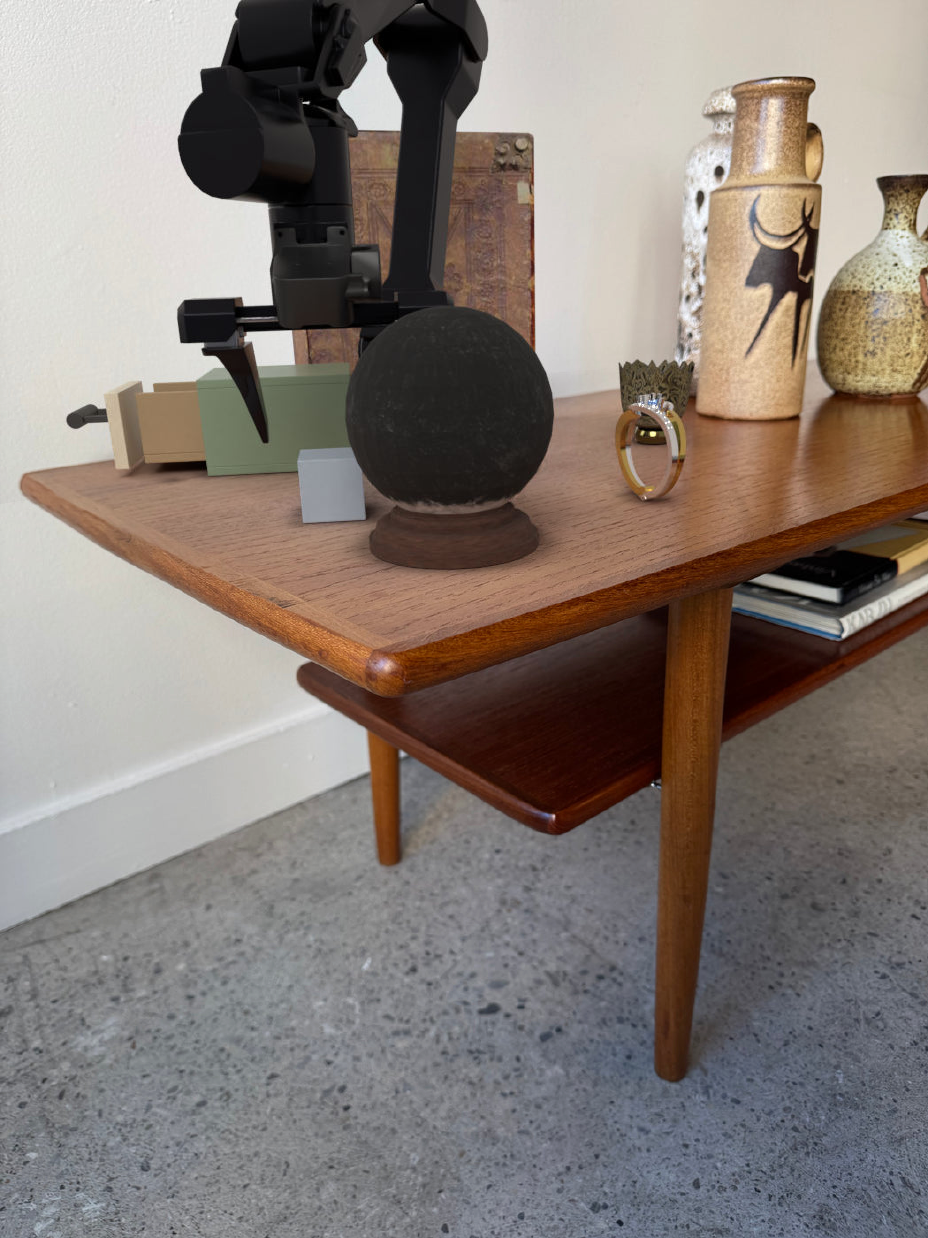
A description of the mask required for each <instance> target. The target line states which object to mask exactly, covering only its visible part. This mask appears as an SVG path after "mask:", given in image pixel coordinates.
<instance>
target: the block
mask: <svg viewBox="0 0 928 1238" xmlns="http://www.w3.org/2000/svg"><path fill="white" fill-rule="evenodd" d="M297 464H298V472H297V475H298V485H299V495H300V505H301V517H302V523H303V524H315V523H334V522H351V521H366V519H367V515H366V502H365V499H366V497H365V485H364V473H363V471H362V470H361V468H360V466H359V465H358V463H357V461H356V458H355V456H354V453H353V450H352V448H351V447H347V448H327V449H307V450H300V453H299V457H298V461H297Z"/></svg>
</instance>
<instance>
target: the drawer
mask: <svg viewBox="0 0 928 1238" xmlns="http://www.w3.org/2000/svg"><path fill="white" fill-rule="evenodd" d="M143 387H144V386H143V381H142V380H130V381H127V382H125V383H123V384H121V385H119V386H117V387H115V388H113V389H111V390H109V391H107V392H104V394H103V398H104V404H105V408H98V406H96V405H95V404H92V403H89V404H85V405H84V406H82V407H79V408H78V409H75V410H74V411H72V412H70V413H68V414H67V415H66V419H65V421H66V424H67V426H68V427H70V428H71V429H73V430H79V429H81V428H83V427H84V426H86V425H87V424H101V423H102V424H103V423H108V429H109V434H110V441H111V447H112V453H113V461H114V467H115V470H117V471H119V470H130V469H131V468H132V467H133V466H134V465H136V464H137V463H138V462H139V461H140V460H141V459H142V458H144V463H145V464H163V463H183V462H185V463H187V462H204V461H205V462H206V456H205V448H204V440H203V433H202V425H201V417H200V409H199V401H198V394H197V385H196V380H195V381H193V380H191V381H170V382H169V381H167V382H153V384H152V389H153V391H150V392H144V389H143Z"/></svg>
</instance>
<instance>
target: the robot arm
mask: <svg viewBox="0 0 928 1238" xmlns="http://www.w3.org/2000/svg"><path fill="white" fill-rule="evenodd" d="M234 17H235V18H236V20H235V21H234V22H233V25H232V27H231V30H230V33H229V37H228V40H227V43H226V47H225V50H224V53H223V57H222V60H221V64H220V66H214V67H207V68H206V67H205V68H201V70H200V71H199V76H200V86H201V92H200V93H199V94H198V95H197V96H196V97H194V99H193V100H192V101H191V102H190V104H189V105H188V107H187V108H186V110H185V112H184V115H183V118H182V120H181V123H180V129H179V134H178V136H177V152H178V154H179V158H180V162H181V165H182V167H183V170H184V171H185V174H186V176H187V177H188V179H189V180H190V181H191V183H192V184H193V185H194V186H195V187H196V188H197V189H198V190H199V191H200V192H202V193H204V194H206V195H207V196H209V197H211V198H215V199H220V200H226V201H236V202H238V201H239V202H247V203H256V204H266V205H267V208H268V209H267V212H268V222H269V223H268V224H269V233H270V234H269V235H270V243H271V244H270V245H271V255H272V257H271V261H270V267H269V276H270V277H269V278H270V287H271V288H270V289H271V299H272V304H262V305H261V304H260V305H259V304H258V305H245V304H244V301H243V297H242V296H222V297H221V296H220V297H199V298H198V297H193V298H188V299H183V301H182V302H181V304H179V306H178V307H177V309H176V320H177V328H178V335H179V341H180V342H179V343H180V344H203V347H201V348H200V350H201V353H202V356H203V357H215V358H217V359H218V360H219V361H220V363H221V365H223V368H226V369H227V371H228V372H229V374H230V376H231V377H232V379H233V381H234V382H235V384H236V386H237V387H238V389H239V391H240V393H241V395H242V397H243V400H244V402H245V404H246V406H247V409H248V411H249V413H250V415H251V418H252V420H253V422H254V424H255V427H256V429H257V431H258V433H259V436H260V438H261V440H262V442H263V444H268V443H269V429H268V418H267V413H266V408H265V403H264V398H263V393H262V388H261V384H260V379H259V374H258V369H257V366H258V364H257V359H256V355H255V354H256V353H255V350H254V344H253V340H252V341H245V337H247V336H248V333H257V332H258V333H259V332H262V333H263V332H282V331H283V332H287V331H292V330H317V329H344V328H361V331H360V334H359V337H360V339H359V343H358V357H359V358H360V356H361V355H362V354H363V352H364V351H365V349H366V348H367V346H368V345H369V344H370V342H371V341H372V340H373V339H374V338H375V337H376V336H377V335H378V334H379V333H381V332H382V331H383V330H384V329H385V328H386V327H387V326H389V325H390V324H392V323H394V322H395V321H397V320H398V319H400V318H402V317H403V316H405V315H408V314H410V313H413V312H416V311H419V310H422V309H425V308H431V307H439V306H455V305H454V299H453V298H452V297H451V296H450V295H449V294H448V293H447V292H446V291H444V290H443V280H444V268H445V257H446V245H447V234H448V222H449V211H450V199H451V188H452V176H453V165H454V153H455V142H456V132H457V129H458V128H457V127H458V122H459V119H460V118H461V117H462V115H463V114H464V113H465V112H466V110H467V108H468V107H469V105H470V104H471V103H472V101H473V100H474V98H475V97H476V96H477V95H478V93H479V89H480V84H481V77H482V71H483V65H484V62H485V61H486V60H487V57H488V53H489V30H488V26H487V22H486V19H485V16H484V13H483V12H482V9H481V7H480V6H479V3H478V2H477V0H239V1H238V3H237V5H236V8H235V11H234ZM371 40H372V44H373V45H374V46H375V48H376V49H377V51H378V53H380V55H381V57H382V58H383V59H384V61H385V62H386V74H387V76H388V78H389V80H390V82H391V84H392V86H393V88H394V90H395V93H396V95H397V97H398V99H399V101H400V103H401V120H400V130H399V131H400V143H399V154H398V166H397V178H396V190H395V202H394V213H393V225H392V237H391V249H390V261H389V271H388V277H387V278H386V280H385V281H384V283H383V284H382V278H381V261H380V248H379V244H356V243H355V228H354V213H353V207H352V206H353V199H352V183H351V168H350V153H349V138H356V137H357V136H358V130H359V127H358V126H357V125H356V123H355V121H354V118H353V117H351V116H350V115H349V114H348V113H347V112H346V111H345V110H344V108H343V107H342V105H341V103H340V100H339V97H340V96H341V94H342V92H343V91H345V90H349V89H350V88H351V87H352V85H353V84H354V83H355V81H356V79H357V78H358V77H359V75H360V74H361V72H362V71H363V69H364V68H365V66H366V64H367V62H368V57H367V52H366V47H365V45H366V44H367V43H368V42H369V41H371Z"/></svg>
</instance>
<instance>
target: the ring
mask: <svg viewBox="0 0 928 1238" xmlns="http://www.w3.org/2000/svg"><path fill="white" fill-rule="evenodd" d="M649 398H650V400H649ZM664 400H665V398H662V394H660V393H657V395H656V400H655V393H651V394H649V396H648V394H645V395H643V402H642V395H637V396H636V397H635V403H634V404H632V405H630V406H628V408H629V410H628V411H626V412H623V413H621V415H620V416H619V418H618V419H617V422H616V425H615V434H614V442H615V451H616V456H617V461H618V464H619V465H618V466H619V468H620V470H621V473H622V476H623V478H624V480H625V482H626V484H627V485H628V487H629V488H630V489H631V490H632V492H634V493H635V494H636V495H638V497H639V499H640V500H641V501H650V500H651V501H652V500H655V498H661V497H664V496H666V495H667V494H669V493H670V492H671V491H672V490H673V489H674V487H675V485H676V484H677V482H678V480H679V479H680V475H681V473H682V471H683V467H684V463H685V459H686V452H687V436H686V430H685V429H686V428H685V427H684V424H683V421H682V418H681V419H680V418H679V416H678V415H677V414H676V413H675V412H674V411H673V407H674V406H673V404H672V403H670V402H667V401H664ZM663 408H665V409H663ZM641 416H648V417H653V418H654V419H655V420H656V421H657V422H658V423H659V424H660V426H661V427H662V429H663V431H664V434H665V437H666V441H667V442H666V445H667V464H666V465H667V466H666V470H665V472H664V476H663V477H662V480H661V482H660V483H659V484H658V485H657V486H656V487H655V486H654V485H651V484H650V485H646V484H644V483H643V481H642V480H641V479H640V477H639V475H638V474H637V471H636V469H635V466H634V462H633V457H632V440H633V435H634V432H635V429H636V428H635V427H636V426H635V425H636V423H637V421H638V420H639V418H640V417H641Z"/></svg>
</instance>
